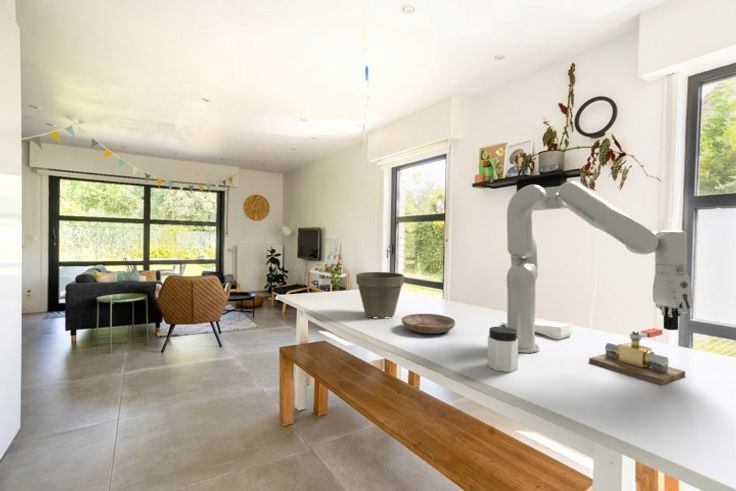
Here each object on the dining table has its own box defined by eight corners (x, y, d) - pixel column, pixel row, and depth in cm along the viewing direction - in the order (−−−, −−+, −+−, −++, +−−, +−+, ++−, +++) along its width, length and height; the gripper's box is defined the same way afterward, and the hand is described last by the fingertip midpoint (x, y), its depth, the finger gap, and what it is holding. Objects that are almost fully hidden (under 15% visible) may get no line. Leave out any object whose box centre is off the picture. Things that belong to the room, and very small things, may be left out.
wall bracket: (502, 338, 166) (562, 345, 143) (498, 323, 166) (558, 328, 142) (514, 330, 172) (574, 335, 148) (510, 315, 171) (570, 319, 148)
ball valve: (661, 374, 104) (661, 347, 103) (603, 357, 118) (603, 334, 117) (669, 371, 106) (670, 345, 106) (612, 355, 120) (612, 332, 120)
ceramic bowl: (391, 332, 154) (391, 320, 154) (416, 321, 174) (416, 311, 174) (442, 341, 141) (442, 328, 141) (463, 328, 160) (463, 317, 160)
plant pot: (401, 322, 171) (402, 277, 170) (351, 320, 175) (351, 276, 174) (405, 312, 195) (405, 272, 195) (361, 310, 199) (361, 271, 199)
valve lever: (638, 340, 110) (638, 333, 110) (628, 338, 112) (628, 331, 112) (663, 334, 117) (663, 327, 117) (652, 332, 119) (653, 325, 119)
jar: (487, 370, 110) (488, 331, 110) (487, 361, 118) (487, 325, 118) (519, 373, 107) (519, 334, 107) (516, 364, 115) (517, 327, 115)
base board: (661, 385, 100) (661, 379, 100) (589, 362, 117) (589, 358, 117) (685, 376, 106) (685, 371, 106) (612, 356, 124) (613, 351, 124)
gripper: (705, 272, 103) (705, 335, 103) (664, 268, 118) (664, 323, 118) (678, 272, 103) (678, 335, 104) (640, 268, 118) (640, 323, 119)
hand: (670, 329), depth 111 cm, fingers closed
